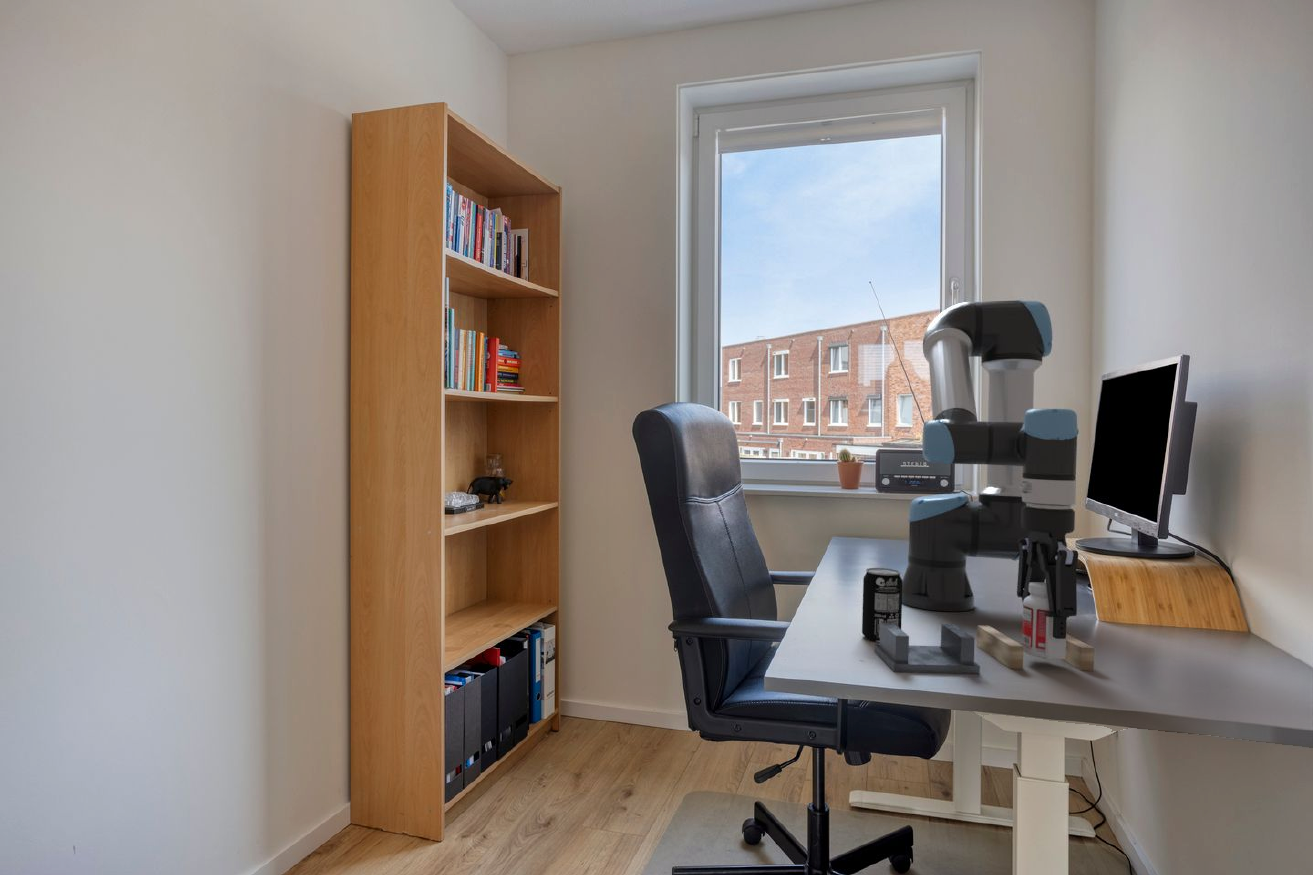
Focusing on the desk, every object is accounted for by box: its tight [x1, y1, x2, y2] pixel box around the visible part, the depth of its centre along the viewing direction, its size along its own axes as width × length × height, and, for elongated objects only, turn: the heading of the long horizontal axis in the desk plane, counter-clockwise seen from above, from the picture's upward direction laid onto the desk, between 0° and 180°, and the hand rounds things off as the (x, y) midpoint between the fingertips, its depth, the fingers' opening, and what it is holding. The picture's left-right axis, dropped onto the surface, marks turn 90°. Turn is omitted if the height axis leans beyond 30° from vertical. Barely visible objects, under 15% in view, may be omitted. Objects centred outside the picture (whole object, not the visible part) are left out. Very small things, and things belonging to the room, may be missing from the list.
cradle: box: [874, 622, 981, 675], centre depth 117 cm, size 10×13×5 cm
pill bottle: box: [1021, 581, 1068, 659], centre depth 117 cm, size 6×6×11 cm
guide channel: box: [976, 625, 1095, 671], centre depth 121 cm, size 12×13×4 cm
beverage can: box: [861, 567, 903, 644], centre depth 130 cm, size 7×7×12 cm
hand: (1043, 651), depth 117 cm, fingers closed on pill bottle, 6 cm apart
